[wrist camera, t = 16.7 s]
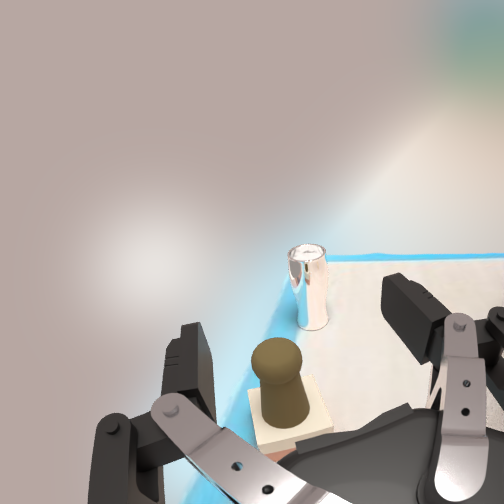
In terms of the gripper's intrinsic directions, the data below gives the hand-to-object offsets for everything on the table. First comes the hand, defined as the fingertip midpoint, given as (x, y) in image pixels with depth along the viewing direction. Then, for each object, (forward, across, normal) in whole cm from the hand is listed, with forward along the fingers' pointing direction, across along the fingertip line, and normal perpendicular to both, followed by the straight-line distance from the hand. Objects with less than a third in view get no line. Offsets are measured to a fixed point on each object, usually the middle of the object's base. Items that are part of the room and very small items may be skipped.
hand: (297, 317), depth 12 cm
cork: (+12, 0, +24) cm, 27 cm away
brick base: (+12, 0, +30) cm, 32 cm away
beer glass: (+35, -10, +30) cm, 47 cm away
